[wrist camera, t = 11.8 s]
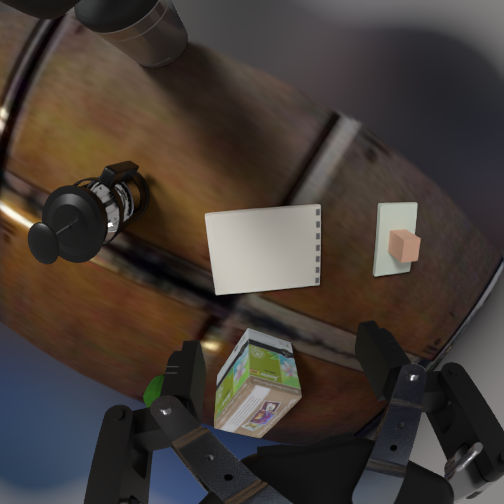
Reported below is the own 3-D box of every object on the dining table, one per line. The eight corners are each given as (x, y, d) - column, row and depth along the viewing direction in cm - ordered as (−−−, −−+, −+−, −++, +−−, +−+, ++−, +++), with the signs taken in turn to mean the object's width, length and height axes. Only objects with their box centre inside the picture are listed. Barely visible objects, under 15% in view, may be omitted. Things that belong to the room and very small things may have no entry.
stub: (372, 274, 50) (386, 289, 44) (377, 203, 45) (394, 212, 39) (407, 269, 50) (422, 283, 45) (414, 202, 45) (433, 210, 40)
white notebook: (216, 291, 50) (215, 295, 48) (205, 213, 44) (204, 215, 43) (317, 281, 50) (319, 285, 49) (318, 204, 45) (320, 205, 44)
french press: (131, 236, 45) (64, 311, 24) (89, 208, 43) (2, 262, 21) (165, 176, 42) (100, 212, 21) (118, 147, 39) (26, 161, 18)
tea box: (245, 325, 53) (249, 383, 39) (291, 341, 55) (305, 396, 41) (215, 374, 57) (212, 430, 44) (257, 387, 60) (262, 440, 46)
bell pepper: (167, 365, 56) (159, 399, 47) (191, 387, 59) (186, 421, 49) (141, 376, 57) (131, 409, 48) (164, 397, 60) (158, 429, 51)
